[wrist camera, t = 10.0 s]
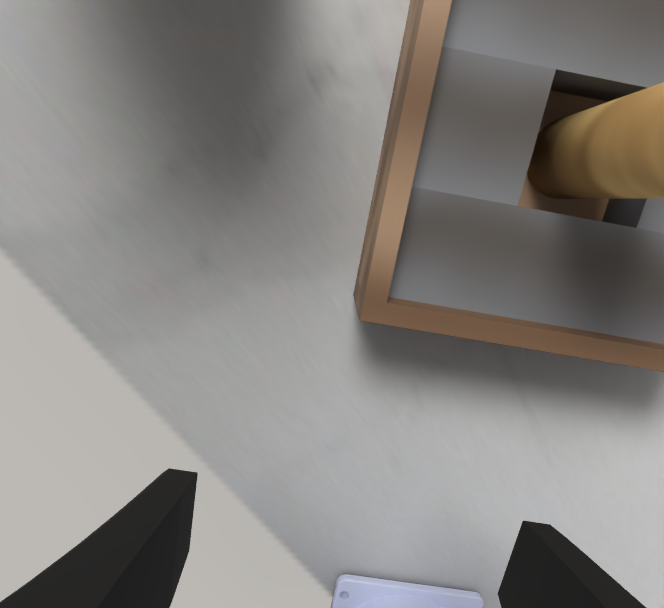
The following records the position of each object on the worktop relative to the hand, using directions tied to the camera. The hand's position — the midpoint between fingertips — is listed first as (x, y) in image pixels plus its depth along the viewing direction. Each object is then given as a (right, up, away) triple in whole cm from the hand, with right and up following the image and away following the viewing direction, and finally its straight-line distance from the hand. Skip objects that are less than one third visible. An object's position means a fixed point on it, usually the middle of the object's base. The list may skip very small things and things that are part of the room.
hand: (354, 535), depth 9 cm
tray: (+9, +11, +8) cm, 16 cm away
